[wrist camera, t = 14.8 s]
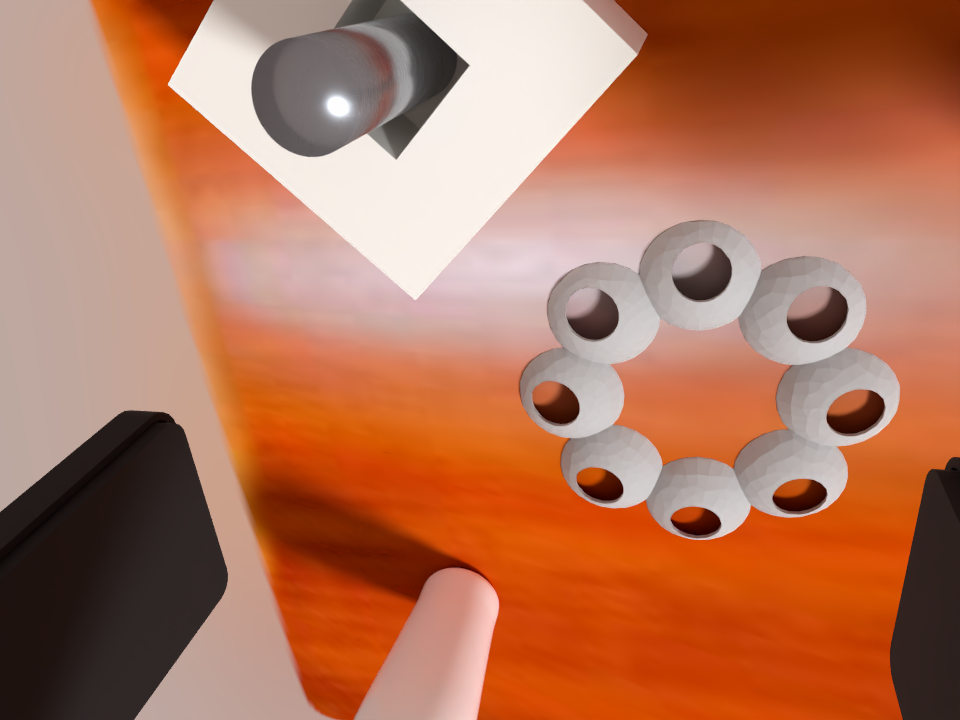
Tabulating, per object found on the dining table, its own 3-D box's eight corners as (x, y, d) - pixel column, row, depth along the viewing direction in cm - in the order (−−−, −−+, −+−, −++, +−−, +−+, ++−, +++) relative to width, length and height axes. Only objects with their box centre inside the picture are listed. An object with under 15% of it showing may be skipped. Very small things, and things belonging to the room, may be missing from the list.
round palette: (985, 402, 39) (998, 423, 37) (691, 584, 49) (691, 608, 47) (707, 133, 36) (708, 143, 35) (454, 383, 46) (445, 401, 44)
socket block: (407, -205, 33) (341, -237, 27) (647, 34, 35) (637, 54, 29) (247, 62, 40) (167, 84, 34) (455, 248, 42) (415, 300, 36)
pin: (408, -7, 34) (285, 11, 23) (472, 49, 34) (379, 91, 24) (365, 62, 36) (232, 107, 25) (426, 115, 36) (321, 180, 26)
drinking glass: (502, 555, 51) (437, 763, 38) (519, 631, 54) (463, 849, 41) (406, 553, 53) (313, 751, 40) (427, 627, 56) (347, 833, 43)
